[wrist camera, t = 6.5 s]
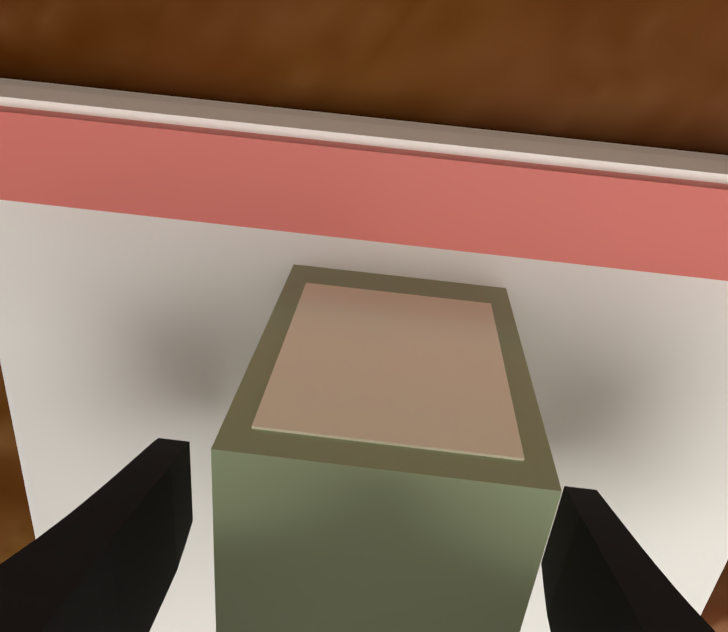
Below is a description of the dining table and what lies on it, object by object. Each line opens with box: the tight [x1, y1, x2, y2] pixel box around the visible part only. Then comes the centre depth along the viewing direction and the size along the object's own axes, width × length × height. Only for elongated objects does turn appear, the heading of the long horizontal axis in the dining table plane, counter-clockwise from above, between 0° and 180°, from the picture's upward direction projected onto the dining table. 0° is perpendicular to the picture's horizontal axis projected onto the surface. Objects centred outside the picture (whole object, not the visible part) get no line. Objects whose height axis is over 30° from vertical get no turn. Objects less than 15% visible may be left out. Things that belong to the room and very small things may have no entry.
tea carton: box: [211, 264, 562, 632], centre depth 12 cm, size 7×4×6 cm, turn 175°
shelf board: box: [0, 78, 728, 632], centre depth 17 cm, size 18×22×3 cm
